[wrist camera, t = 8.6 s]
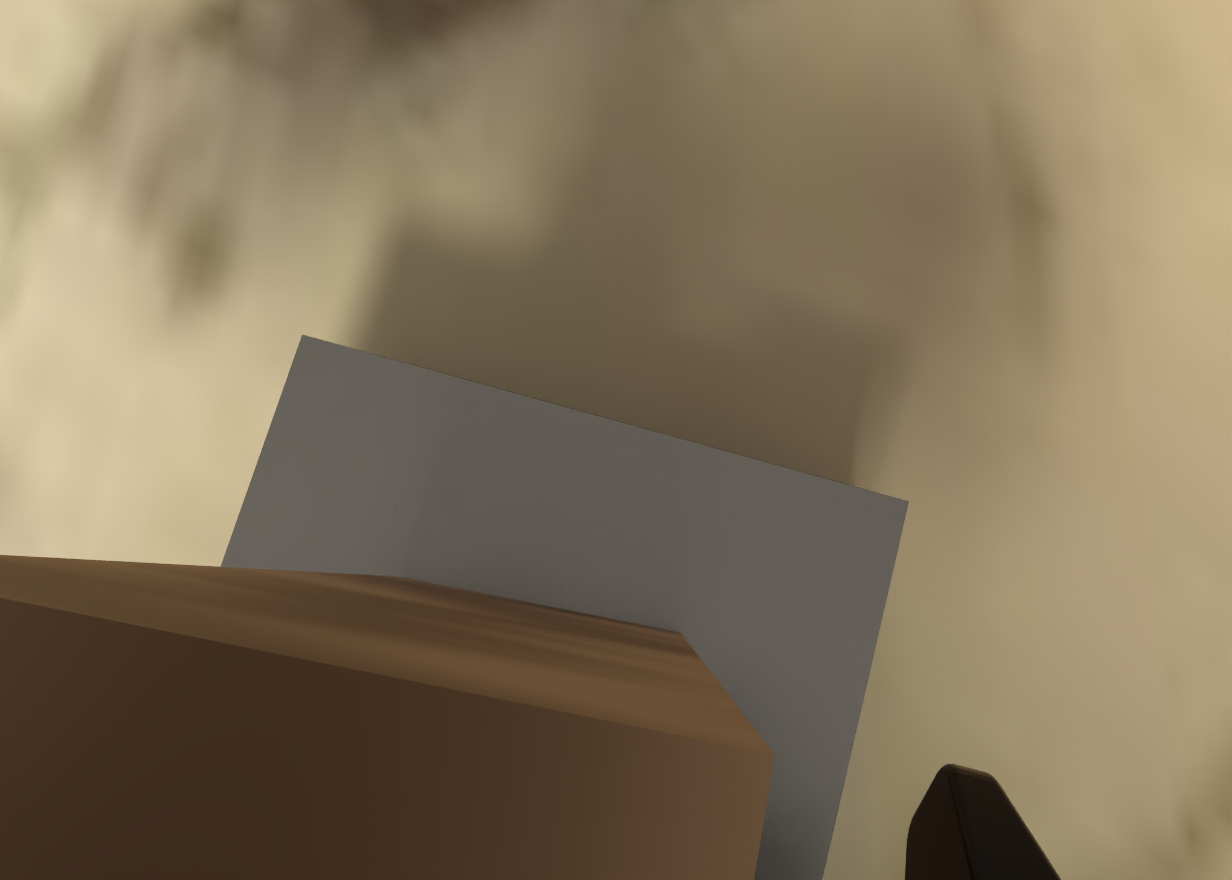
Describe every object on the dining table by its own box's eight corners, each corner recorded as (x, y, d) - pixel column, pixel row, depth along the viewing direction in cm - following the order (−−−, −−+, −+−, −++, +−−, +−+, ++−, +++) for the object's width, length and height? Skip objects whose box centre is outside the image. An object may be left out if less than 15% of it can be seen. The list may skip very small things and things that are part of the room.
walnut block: (680, 632, 17) (775, 754, 4) (625, 937, 17) (548, 2122, 4) (396, 576, 18) (-285, 538, 5) (330, 873, 17) (-676, 1774, 4)
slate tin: (857, 524, 22) (908, 501, 18) (724, 1082, 20) (750, 1192, 16) (357, 386, 23) (302, 335, 19) (179, 913, 21) (74, 980, 17)
